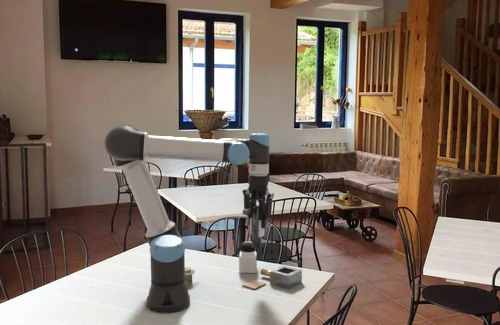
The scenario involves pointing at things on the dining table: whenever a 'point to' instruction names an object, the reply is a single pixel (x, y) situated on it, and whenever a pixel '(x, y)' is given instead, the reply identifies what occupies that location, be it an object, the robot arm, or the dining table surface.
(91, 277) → the dining table surface
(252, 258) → the medicine bottle
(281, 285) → the block
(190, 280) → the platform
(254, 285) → the copper plate
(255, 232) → the chuck key
